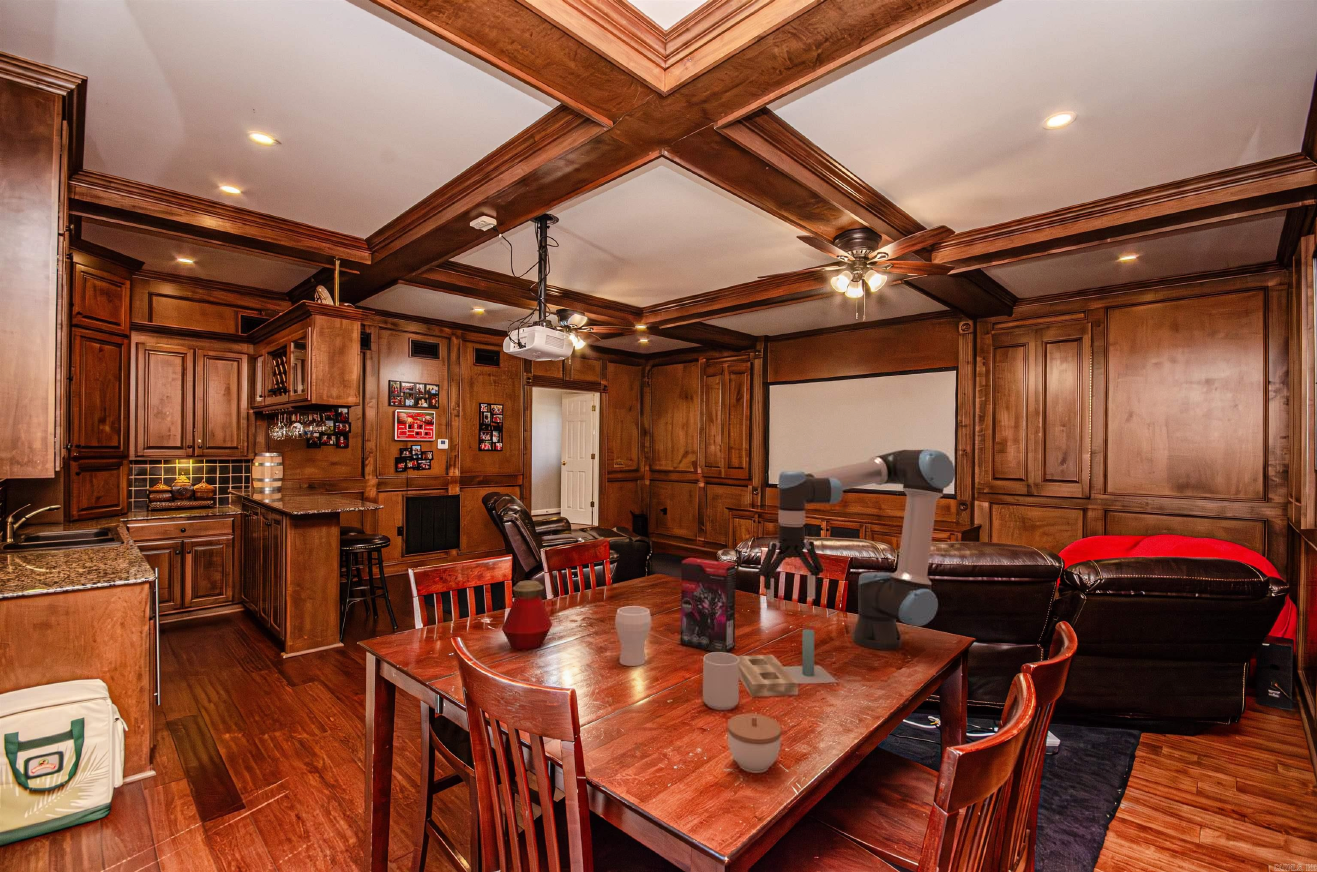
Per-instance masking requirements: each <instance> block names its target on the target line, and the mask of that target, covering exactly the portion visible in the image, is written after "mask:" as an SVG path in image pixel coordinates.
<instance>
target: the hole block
mask: <svg viewBox="0 0 1317 872" xmlns="http://www.w3.org/2000/svg"><path fill="white" fill-rule="evenodd" d="M736 656H737V657H738V658H739V681H740V682H741V683H742V686H743V687H745V689H746V691H747V692H748V693H749V695H750V697H751V698H752V699H754V698H755V697H758V698H759V697H760V698H761V697H781V696H799V684H798V682H797V681H796V680H795V679H794V678H793V677H792V675H791V674H790V673H789V672H788V671H787V670H786V669H785V668H784V667H785V666H783V664H782V663H781V662H780V661H779V660H778V659H777V658H776V657H775V656H774V655H773V654H766V655H765V654H764V655H763V654H760V655H757V654H756V655H736Z"/></svg>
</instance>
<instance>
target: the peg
mask: <svg viewBox="0 0 1317 872" xmlns="http://www.w3.org/2000/svg"><path fill="white" fill-rule="evenodd" d="M801 653H802V658H801V659H802V661H801V662H802V663H801V666H802V674H803V675H805V676H814V666H815V630H813V629H809V628H808V629H807V628H806V629H802V652H801Z"/></svg>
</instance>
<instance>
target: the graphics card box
mask: <svg viewBox="0 0 1317 872" xmlns="http://www.w3.org/2000/svg"><path fill="white" fill-rule="evenodd" d="M736 566H737V564H736V563H731V562H725V561H716V560H711V559H702V558H695V557H688V558H685V559H683V560H682V561H681V581H680V582H681V583H680V584H681V586H680V589H681V591H680V592H681V593H680V594H681V595H680V642H679V643H680V645H684V646H686V647H691V648H696V649H697V648H698V649H702V650H707V651H710V652H712V653H714V652H724V653H731V652H732V651H734V650H735V649H736V648H735V647H736V645H735V644H736V638H735V637H736V568H737V567H736Z"/></svg>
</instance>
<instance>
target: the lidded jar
mask: <svg viewBox="0 0 1317 872" xmlns="http://www.w3.org/2000/svg"><path fill="white" fill-rule="evenodd" d="M726 725H727V726H726V727H727V728H726V729H727V740H728V741H727V742H728V748H729V751H730V755H731V756H732V758H733V759H734V760H735V762H736V764H738V766H739V767H740V768H741V770H744V771H745V772H748V773H753V774H762V773H765V772H766V771H768V770H769V769H770V767H771V766H772V765H774V764H775V762H776V761H777V759H778V757H779V753H780V750H781V743H782V726H781V724H780V723H779V722H778V721H776V720H775V719H773V718H772V717H769V716H768V715H767V716H766V715H763V714H757V713H742V714H736V715H735V716H731V718H729V719H728V721H727V724H726Z"/></svg>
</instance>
